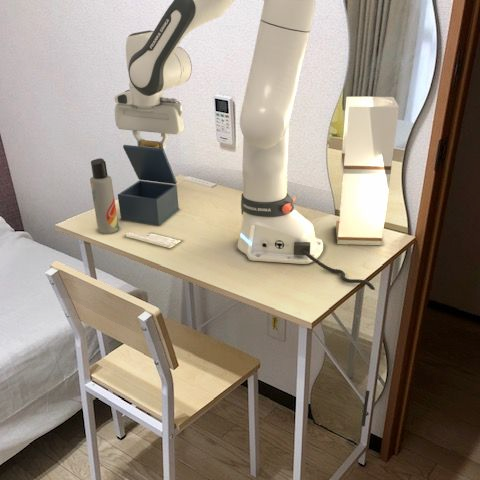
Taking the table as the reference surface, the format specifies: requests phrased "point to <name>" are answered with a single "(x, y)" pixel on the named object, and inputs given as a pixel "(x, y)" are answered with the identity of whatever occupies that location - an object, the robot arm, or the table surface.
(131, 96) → the robot arm
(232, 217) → the table surface
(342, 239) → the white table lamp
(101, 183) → the lotion bottle
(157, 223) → the chest
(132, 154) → the lid
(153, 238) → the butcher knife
